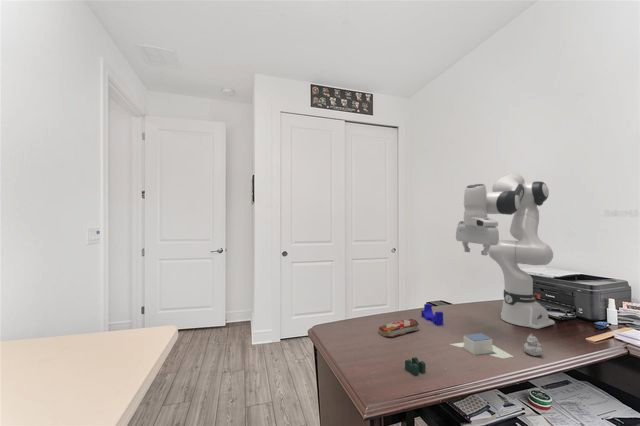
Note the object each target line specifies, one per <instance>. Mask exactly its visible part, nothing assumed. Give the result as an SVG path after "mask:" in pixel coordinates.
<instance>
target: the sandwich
mask: <svg viewBox="0 0 640 426" xmlns="http://www.w3.org/2000/svg"><path fill="white" fill-rule="evenodd" d="M419 325H420V323H419V321H418V320H416V319H414V318H413V319H412V318H410V319H402V320H398V321H394V322H390V323H387V324H384V325H381V326H379V327H378V333H379V335H380V336H382V337H383V338H385V337H386V338H393V337H398V336H402V335H404V334H408V333H411V332H416V331H418V330H419V327H418V326H419Z"/></svg>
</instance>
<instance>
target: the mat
mask: <svg viewBox="0 0 640 426" xmlns="http://www.w3.org/2000/svg"><path fill="white" fill-rule="evenodd" d="M449 345H451V346H453V347H454V346H455V347H457V348H460V349H461V348H462V349H464V341H462V342H458V343H449ZM492 348H493V353H486V354H485V355H487V356H491V357H492V356H493V357H495V358H500V359H507V358H514V355H511V354H510V353H508V352H506V351H504V350H503V349H501V348H499V347H498V346H496V345H494V344H492Z"/></svg>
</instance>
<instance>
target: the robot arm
mask: <svg viewBox="0 0 640 426" xmlns="http://www.w3.org/2000/svg"><path fill="white" fill-rule="evenodd" d="M491 190H492V191H491V192H487V187H486V185H485V184H483V183H474V184H470V185H467V186H465V189H464V193H463V206H464V212H463V220H460V221H459V222H458V223H457V225H456V226H457V227H456V231H455V239H456V241H457V242H461V244H462V247H463V250H464V253H470V252H471V248H469V244H470V243H472V244H479V245H482V247H483V249H482V250H481V251H480V252H481V253H480V254H481V256H489V257H490V258H491V259H492V260H493V261H495V262H496V264H497V265H498V266H499V267H500V269H501V272H502V273H503V279H504V280H503V281H504V289H503V293H502V294H503V300H502V310H501V312H500V318H501V320H503V321H504V322H507V323H508V324H509V323H510V324H512V325H515V326H516V325H517V326H520V327H527V328H531V329H542V328H545V327H549V326H552V325H555V324H556V323H555V322H556V321H555V320H553V319H551V318H549V313H548V310H547V308H546V307H544V306H543V305H541V304H540V303H539V302H538V301H537V299H540V298H541V295H540V294H539V293H538V294H537V293H533V291H534V290H533V287H534V283H533V282H534V279H533V277H532V275H530V273H528V272H526V271H524V270H523V269H521V268H520V267H519V266H518V264H519V265H530V266H546V265H549V264H550V263H551V262H552V260H553V258H554V251H553V249H552V247H550V245H548V243H545V242H543V240H541V239H540V238H539V234H538V228H539V222H540V210H539V208H538V206H539V207H540V206H542V205H543V204H544V202H545V201H547V200H548V197H549V195H550V193H549V192H550V191H549V188H548V185H547V183H545V182H544V181H539V180H538V181H533V182H525V178H524V177H523V175H520V174H518V173H510V174H506V175H504V176H502V177H499V179H497V180H496V181H494V183H493V185H492V189H491ZM488 215H508V216H509V215H511V216H512V215H513V216H512V220H511V224H510V227H509V228H510V229H509V233H510V235H511V237H513V238H514V239H515V240H511V239H508V240H507V239H500V233H499V229H498V225H499V221H498V220H495V219H493V218H490V217H489V216H488Z"/></svg>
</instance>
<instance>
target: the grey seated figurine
mask: <svg viewBox="0 0 640 426" xmlns="http://www.w3.org/2000/svg"><path fill="white" fill-rule="evenodd" d="M523 349H524V352H525V353H526V354H527V355H529V354H530V355H529V356H532V357H533V356H534V357H538V356H542V355H543V348H542V344H541V343H540V342H539V340H538V338H537V336H535V335H533V333H530V334H529V335H528V336H527V339H526V342H525V343H524V344H523Z"/></svg>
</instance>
